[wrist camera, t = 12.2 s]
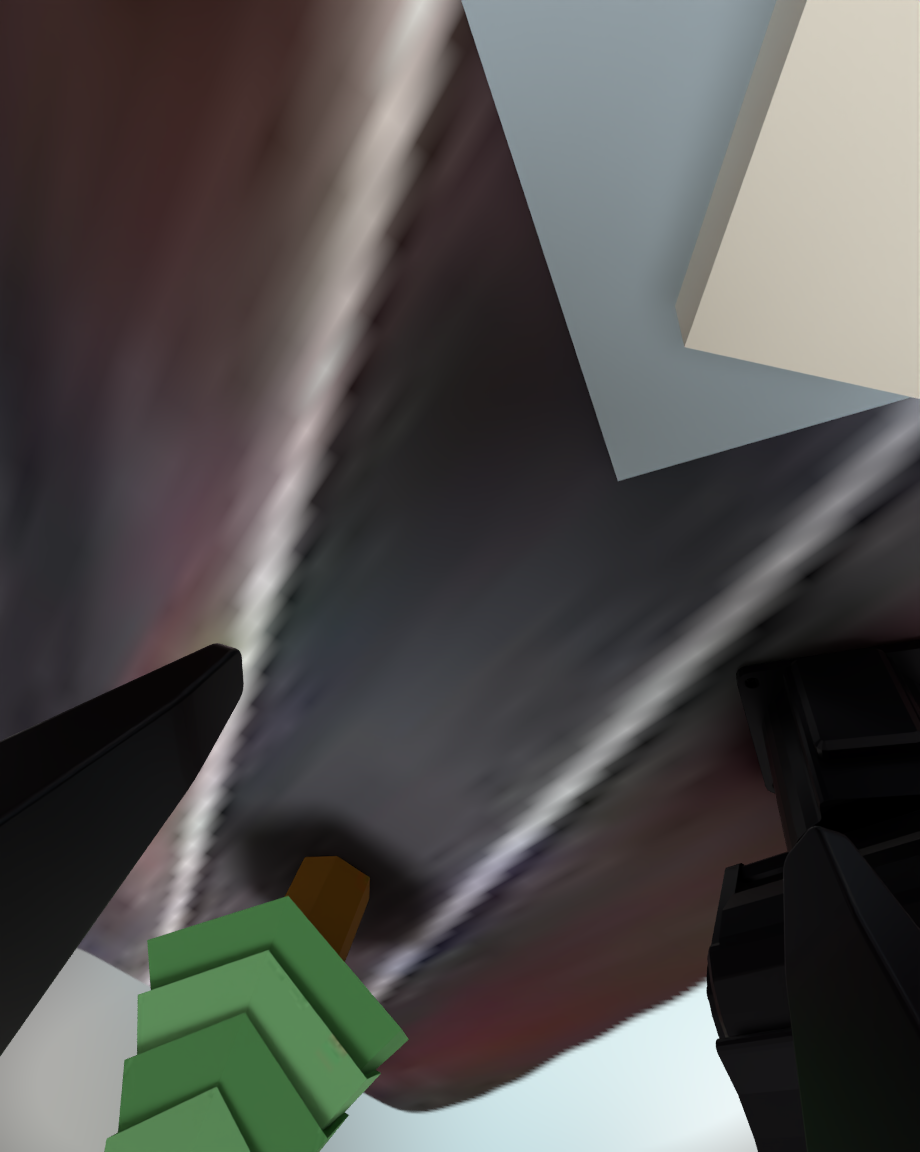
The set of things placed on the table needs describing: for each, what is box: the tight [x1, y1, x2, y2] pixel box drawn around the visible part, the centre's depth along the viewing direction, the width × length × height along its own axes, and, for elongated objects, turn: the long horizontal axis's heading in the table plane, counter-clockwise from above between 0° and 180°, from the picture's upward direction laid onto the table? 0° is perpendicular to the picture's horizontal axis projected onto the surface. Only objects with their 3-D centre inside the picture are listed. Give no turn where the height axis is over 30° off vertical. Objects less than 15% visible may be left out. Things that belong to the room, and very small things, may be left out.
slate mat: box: [461, 0, 910, 481], centre depth 13 cm, size 16×16×1 cm
